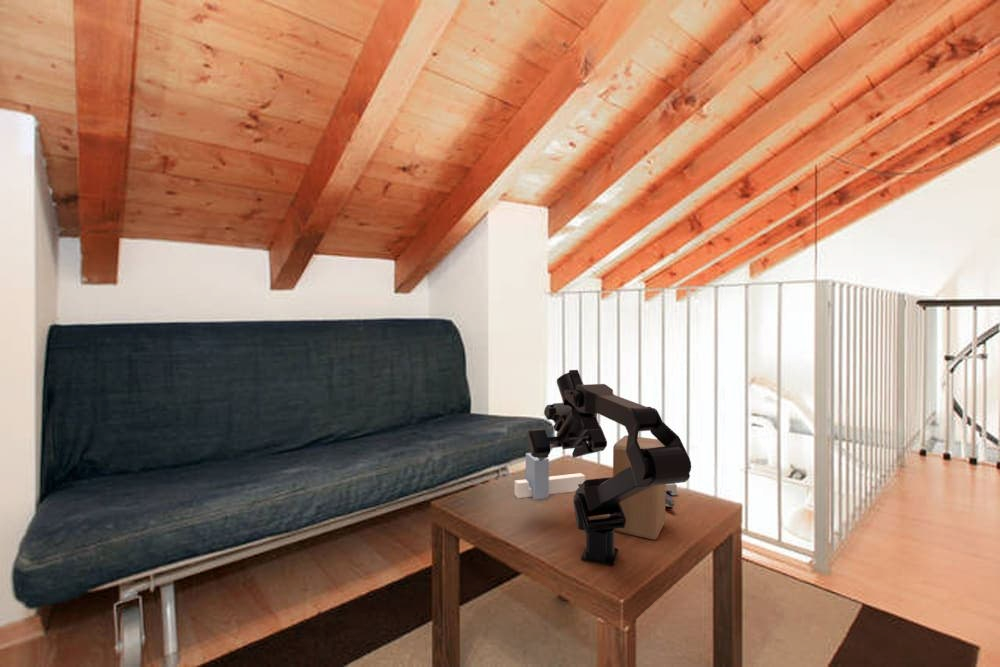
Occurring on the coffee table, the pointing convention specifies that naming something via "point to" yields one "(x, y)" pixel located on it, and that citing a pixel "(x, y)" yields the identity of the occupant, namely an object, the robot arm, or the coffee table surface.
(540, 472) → the slotted block
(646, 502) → the wooden block
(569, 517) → the coffee table surface
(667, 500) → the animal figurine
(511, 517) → the coffee table surface
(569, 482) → the slotted rail
